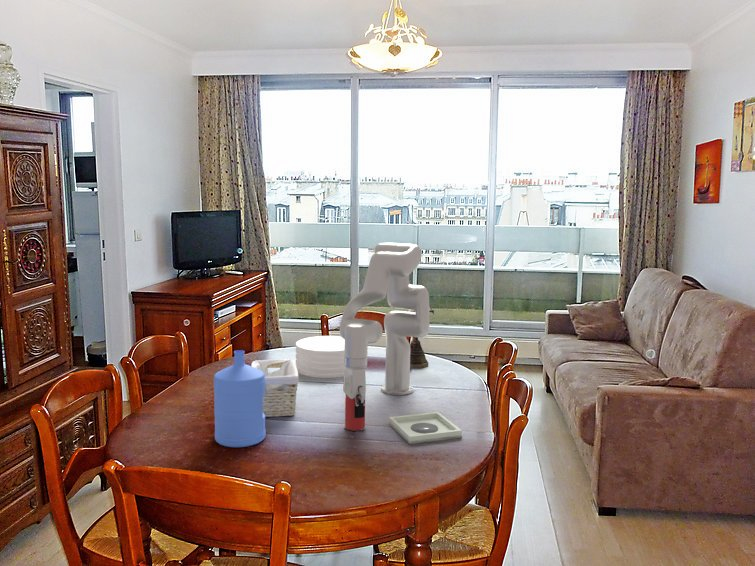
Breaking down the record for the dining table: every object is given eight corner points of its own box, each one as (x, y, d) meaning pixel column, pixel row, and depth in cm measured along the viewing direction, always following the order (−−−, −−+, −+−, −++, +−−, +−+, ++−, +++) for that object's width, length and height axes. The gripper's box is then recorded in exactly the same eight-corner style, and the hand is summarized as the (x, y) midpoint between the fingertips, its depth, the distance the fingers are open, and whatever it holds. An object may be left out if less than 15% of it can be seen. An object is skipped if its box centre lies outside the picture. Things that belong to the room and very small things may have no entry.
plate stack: (358, 378, 269) (359, 351, 267) (291, 377, 269) (291, 350, 267) (361, 360, 296) (361, 336, 295) (300, 359, 297) (300, 335, 295)
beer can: (368, 426, 215) (368, 391, 213) (359, 433, 209) (359, 397, 207) (350, 423, 218) (351, 388, 216) (341, 429, 212) (341, 394, 210)
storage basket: (251, 397, 242) (251, 359, 240) (295, 395, 245) (295, 357, 243) (251, 420, 219) (250, 377, 217) (299, 417, 222) (299, 376, 220)
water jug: (241, 452, 192) (240, 361, 188) (203, 441, 200) (201, 353, 196) (276, 436, 205) (275, 350, 201) (239, 425, 213) (238, 343, 209)
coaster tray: (388, 424, 217) (389, 417, 217) (437, 418, 223) (437, 411, 223) (409, 444, 201) (409, 436, 200) (461, 437, 207) (461, 430, 206)
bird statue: (437, 370, 282) (439, 291, 277) (408, 371, 280) (410, 291, 274) (428, 360, 298) (430, 285, 293) (400, 361, 296) (402, 285, 291)
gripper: (337, 356, 217) (336, 405, 219) (352, 369, 201) (351, 422, 203) (358, 354, 219) (357, 403, 221) (375, 367, 203) (374, 420, 205)
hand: (354, 412), depth 212 cm, fingers open, 9 cm apart
